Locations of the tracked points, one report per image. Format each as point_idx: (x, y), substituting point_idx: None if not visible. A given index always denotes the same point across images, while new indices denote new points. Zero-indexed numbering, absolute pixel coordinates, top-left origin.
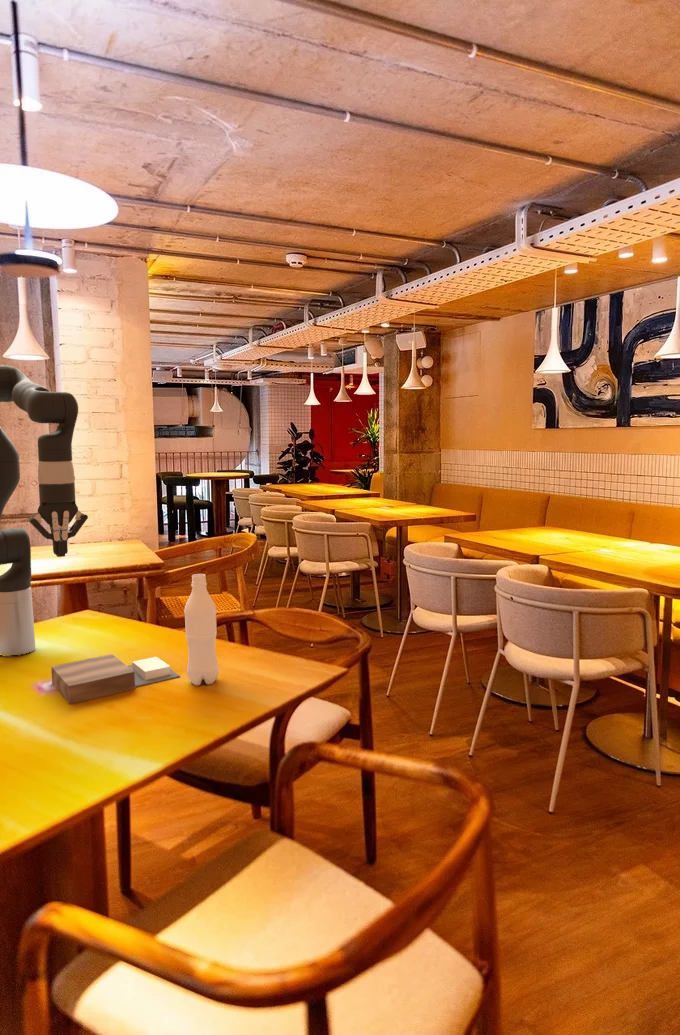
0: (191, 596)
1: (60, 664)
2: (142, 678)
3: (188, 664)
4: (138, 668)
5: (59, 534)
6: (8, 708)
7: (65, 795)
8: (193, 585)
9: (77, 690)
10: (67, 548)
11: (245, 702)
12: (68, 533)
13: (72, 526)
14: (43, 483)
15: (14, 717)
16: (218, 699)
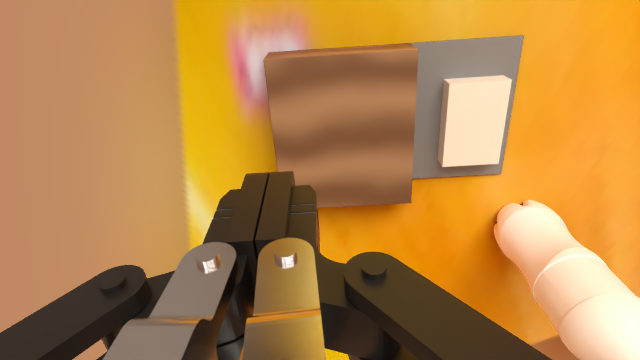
0: None
1: (285, 59)
2: (436, 147)
3: (506, 242)
4: (444, 124)
5: (257, 273)
6: (184, 150)
7: None
8: None
9: None
10: (319, 245)
11: (510, 317)
12: (337, 347)
13: (414, 351)
14: None
15: (196, 196)
16: (488, 291)
